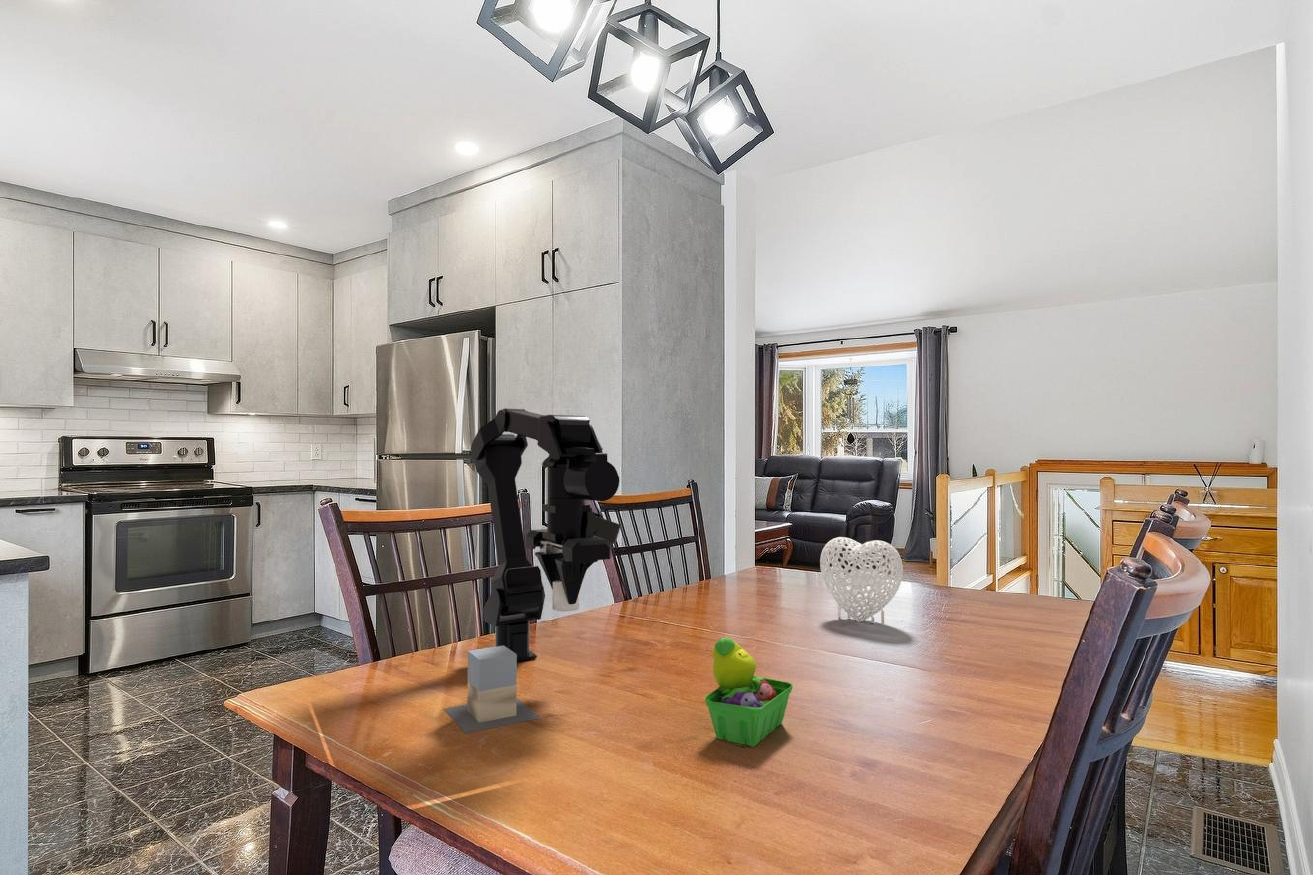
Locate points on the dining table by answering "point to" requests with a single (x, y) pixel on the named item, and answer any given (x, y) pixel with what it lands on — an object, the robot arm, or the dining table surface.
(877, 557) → the decorative heart
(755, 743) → the fruit basket
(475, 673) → the top block
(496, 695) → the bottom block
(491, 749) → the dining table surface
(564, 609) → the white cylinder
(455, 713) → the mat
